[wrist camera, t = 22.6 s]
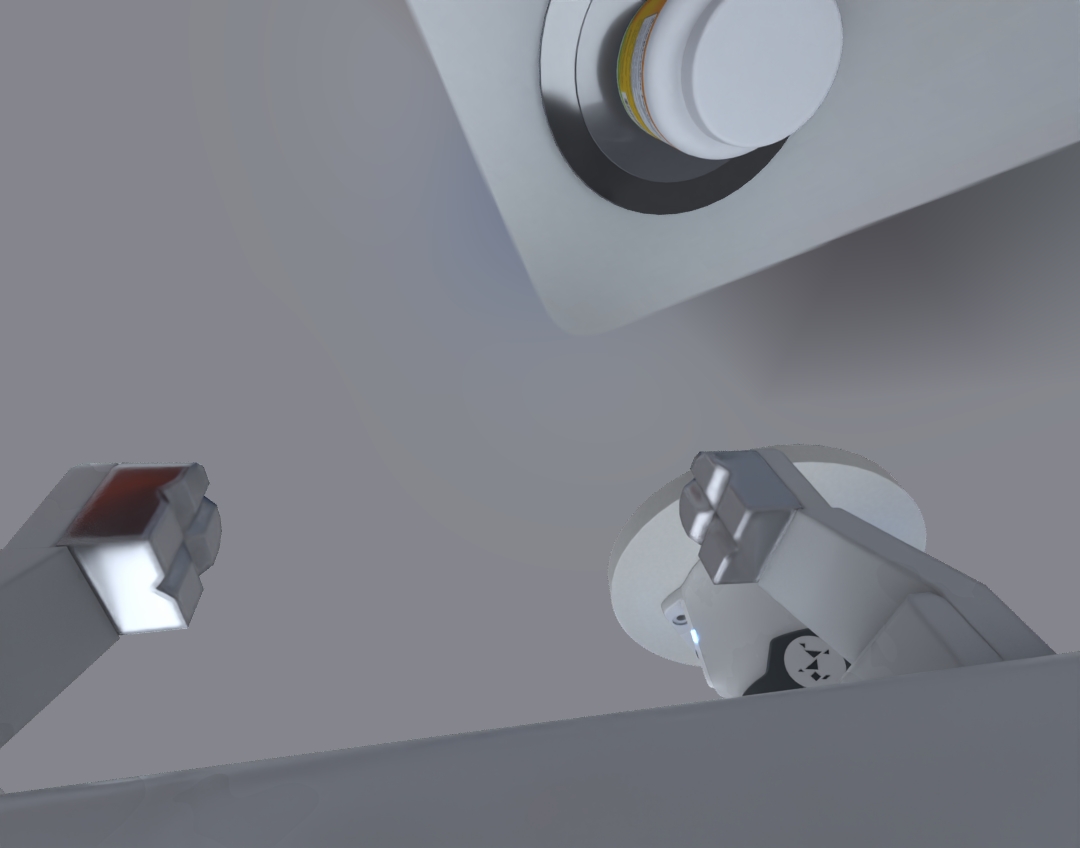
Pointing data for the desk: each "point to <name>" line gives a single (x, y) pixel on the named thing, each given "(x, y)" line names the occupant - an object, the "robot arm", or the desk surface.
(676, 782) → the robot arm
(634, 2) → the hot plate
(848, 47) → the desk surface
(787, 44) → the supplement bottle
